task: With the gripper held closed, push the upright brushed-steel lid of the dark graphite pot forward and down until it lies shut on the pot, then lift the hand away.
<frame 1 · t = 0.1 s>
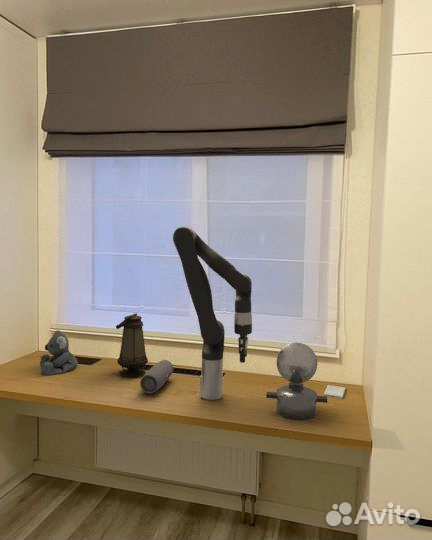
hand: (243, 359, 190), 17 cm above the table, tool pointing down, fingers open, 8 cm apart
bluetooth speaker: (157, 387, 203), on the table
lantern: (132, 374, 220), on the table
pot: (295, 411, 179), on the table
hard drive: (334, 394, 201), on the table
lid: (296, 363, 188), point 16 cm above the table, hinge at 95.0°
koala plush: (59, 370, 224), on the table
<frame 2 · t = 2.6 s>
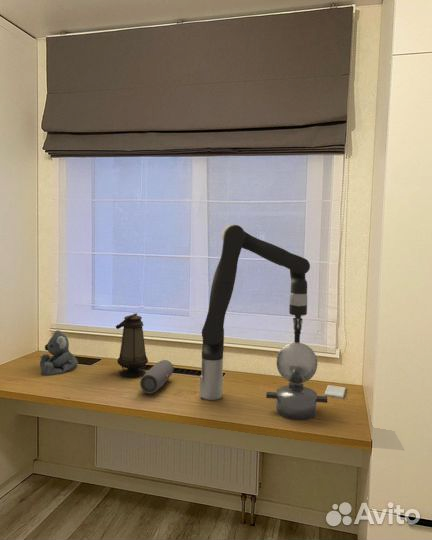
hand: (296, 342, 193), 24 cm above the table, tool pointing down, fingers closed
nothing on the table moved.
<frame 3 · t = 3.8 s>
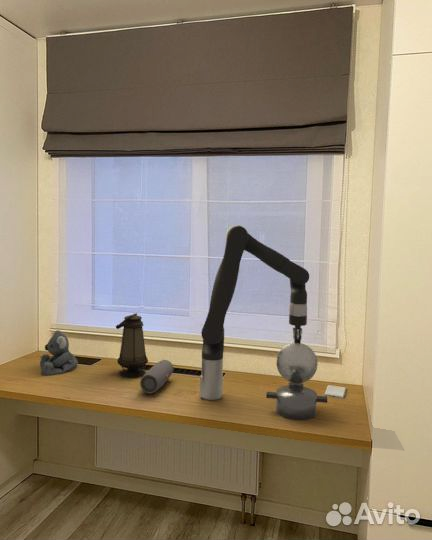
hand: (296, 352, 192), 20 cm above the table, tool pointing down, fingers closed
lid: (296, 363, 188), point 16 cm above the table, hinge at 92.8°, touching hand
everything else where it was.
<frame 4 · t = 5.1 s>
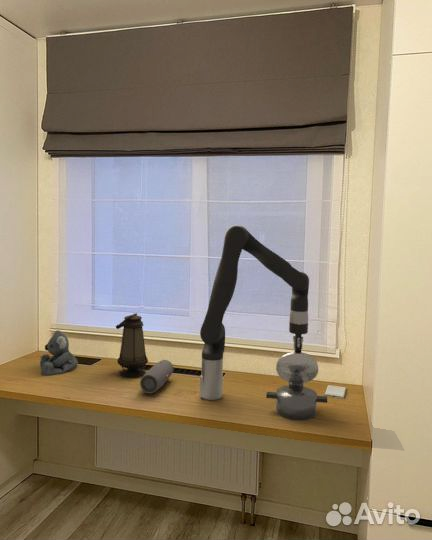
hand: (297, 362, 183), 19 cm above the table, tool pointing down, fingers closed
lid: (297, 368, 183), point 16 cm above the table, hinge at 60.9°, touching gripper
everything else where it was.
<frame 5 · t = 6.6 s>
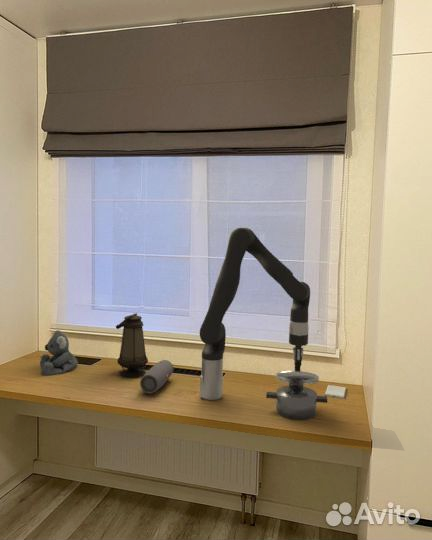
hand: (297, 374, 178), 15 cm above the table, tool pointing down, fingers closed
lid: (297, 377, 180), point 14 cm above the table, hinge at 31.1°, touching gripper
everything else where it was.
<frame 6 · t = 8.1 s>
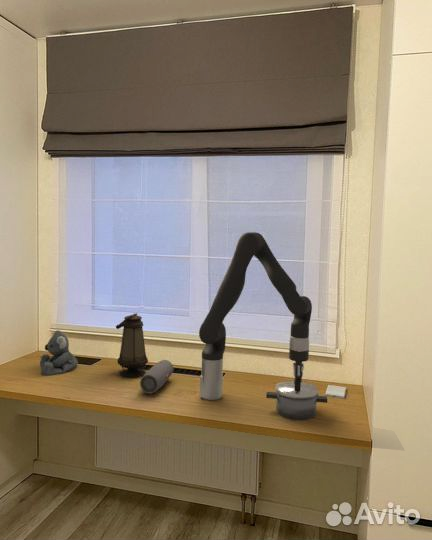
hand: (297, 390, 175), 10 cm above the table, tool pointing down, fingers closed
lid: (296, 388, 179), point 10 cm above the table, hinge at 1.8°, touching gripper
everything else where it was.
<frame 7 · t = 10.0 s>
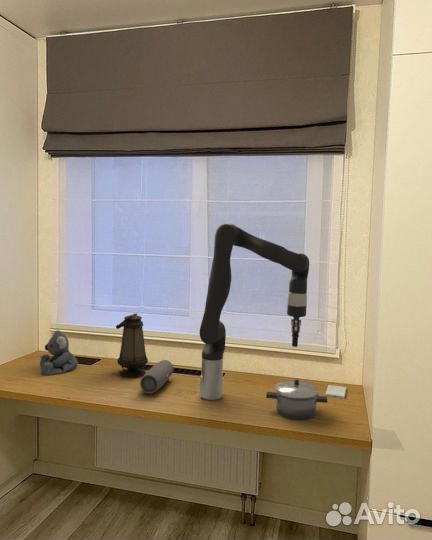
hand: (294, 346, 178), 26 cm above the table, tool pointing down, fingers closed
lid: (296, 388, 179), point 10 cm above the table, hinge at 1.5°
everything else where it was.
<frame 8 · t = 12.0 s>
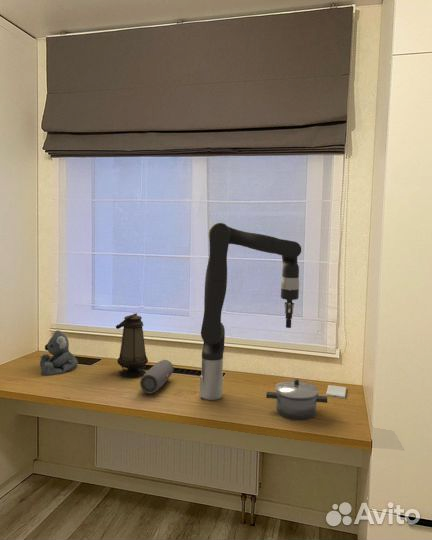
hand: (288, 327, 191), 31 cm above the table, tool pointing down, fingers closed
nothing on the table moved.
at the end: lid at +2° (first picture: +95°); hard drive moved 1.2 cm from its start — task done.
